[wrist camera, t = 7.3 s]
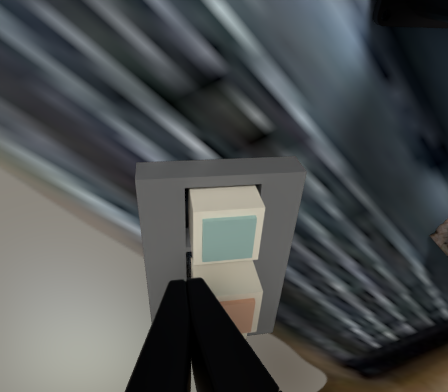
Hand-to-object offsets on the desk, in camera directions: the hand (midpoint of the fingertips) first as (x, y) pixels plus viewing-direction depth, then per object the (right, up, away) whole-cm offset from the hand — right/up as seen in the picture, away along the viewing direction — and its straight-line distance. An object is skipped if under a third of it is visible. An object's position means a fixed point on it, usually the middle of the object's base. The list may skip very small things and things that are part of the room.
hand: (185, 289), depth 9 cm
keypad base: (0, -2, +17) cm, 17 cm away
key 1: (+1, +2, +14) cm, 14 cm away
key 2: (+1, -3, +15) cm, 15 cm away
